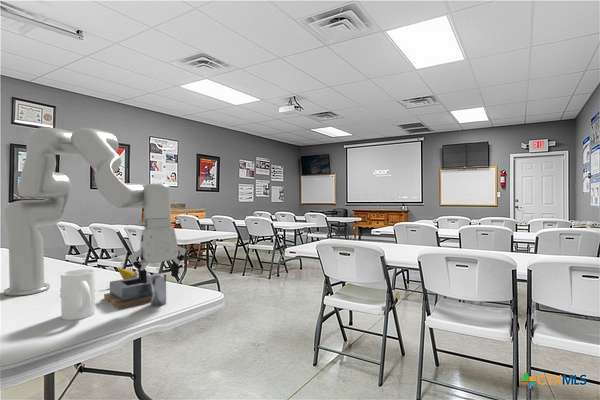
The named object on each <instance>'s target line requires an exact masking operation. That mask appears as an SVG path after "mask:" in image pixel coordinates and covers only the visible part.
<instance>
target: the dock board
mask: <svg viewBox="0 0 600 400" xmlns="http://www.w3.org/2000/svg"><path fill="white" fill-rule="evenodd" d="M103 299H104V300H106V302H109V303H110V305H113V306H114V307H115V308H117V309H118V310H121V309H124V308H129V307H134V306H139V305H143V304H149V303H151V296H148V297H143V298H138V299H134V300H129V301H124V302H122V301H120V300H118V299H117V298H115V297H114V296H112V295H111V294H110V292H108V293H104V295H103Z"/></svg>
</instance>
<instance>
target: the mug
mask: <svg viewBox="0 0 600 400" xmlns="http://www.w3.org/2000/svg"><path fill="white" fill-rule="evenodd" d="M95 274H96V273H95V269H87V268H86V269H85V268H84V269H74V270H69V271H64V272H62V273H61V274H60V289H59V298H60V300H61V301H60V303H61V304H60V305H61V307H60V308H61V309H60V310H61V318H62V320H64V321H65V320H66V321H75V320H81V319H85V318H89V317H92V316H93V315H95V313H96V281H95V280H96V278H95V277H96V275H95Z"/></svg>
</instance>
